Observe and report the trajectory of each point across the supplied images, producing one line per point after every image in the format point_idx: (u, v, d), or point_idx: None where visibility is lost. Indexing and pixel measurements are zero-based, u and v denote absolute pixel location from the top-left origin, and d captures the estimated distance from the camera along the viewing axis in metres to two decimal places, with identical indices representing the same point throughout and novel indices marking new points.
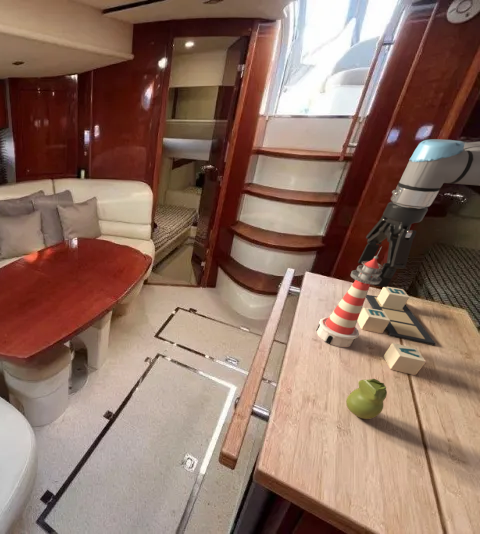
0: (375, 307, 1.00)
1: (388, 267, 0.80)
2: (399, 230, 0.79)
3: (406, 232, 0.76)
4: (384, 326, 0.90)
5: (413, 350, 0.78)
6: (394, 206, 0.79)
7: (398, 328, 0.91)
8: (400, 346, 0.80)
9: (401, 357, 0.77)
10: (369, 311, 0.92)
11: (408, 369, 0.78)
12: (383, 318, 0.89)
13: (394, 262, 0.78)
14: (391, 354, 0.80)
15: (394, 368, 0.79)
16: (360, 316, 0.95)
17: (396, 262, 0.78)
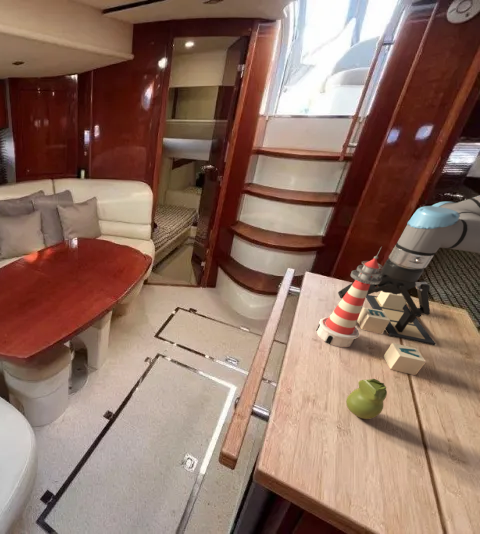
0: (375, 307, 1.00)
1: (414, 315, 0.87)
2: (414, 286, 0.83)
3: None
4: (384, 326, 0.90)
5: (413, 350, 0.78)
6: (418, 271, 0.80)
7: None
8: (400, 346, 0.80)
9: (401, 357, 0.77)
10: (369, 311, 0.92)
11: (408, 369, 0.78)
12: (383, 318, 0.89)
13: (429, 310, 0.84)
14: (391, 354, 0.80)
15: (394, 368, 0.79)
16: (360, 316, 0.95)
17: None
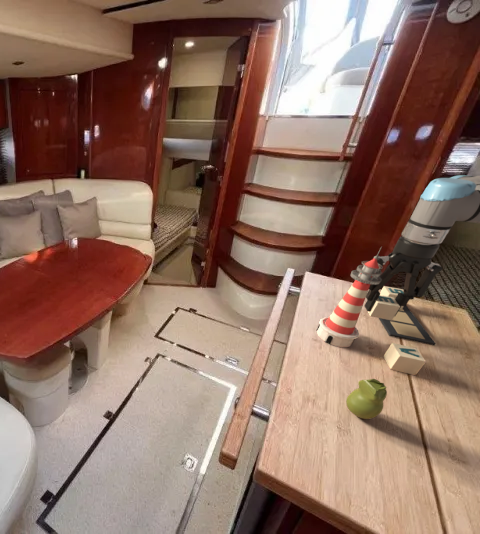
0: None
1: (405, 297, 0.86)
2: (430, 263, 0.80)
3: None
4: (394, 312, 0.87)
5: (413, 350, 0.78)
6: (433, 247, 0.76)
7: (398, 328, 0.91)
8: (400, 346, 0.80)
9: (401, 357, 0.77)
10: (378, 297, 0.90)
11: (408, 369, 0.78)
12: (393, 304, 0.87)
13: (423, 293, 0.83)
14: (391, 354, 0.80)
15: (394, 368, 0.79)
16: None
17: None
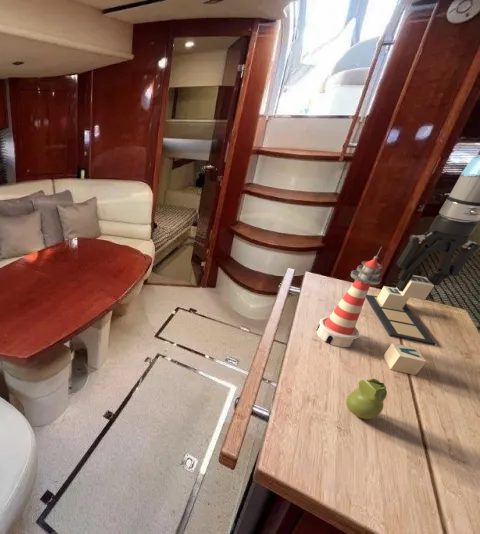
0: (375, 307, 1.00)
1: (439, 276, 0.86)
2: (467, 241, 0.80)
3: None
4: (427, 292, 0.87)
5: (413, 350, 0.78)
6: (473, 224, 0.76)
7: (398, 328, 0.91)
8: (400, 346, 0.80)
9: (401, 357, 0.77)
10: None
11: (408, 369, 0.78)
12: (426, 283, 0.87)
13: (458, 272, 0.84)
14: (391, 354, 0.80)
15: (394, 368, 0.79)
16: None
17: None
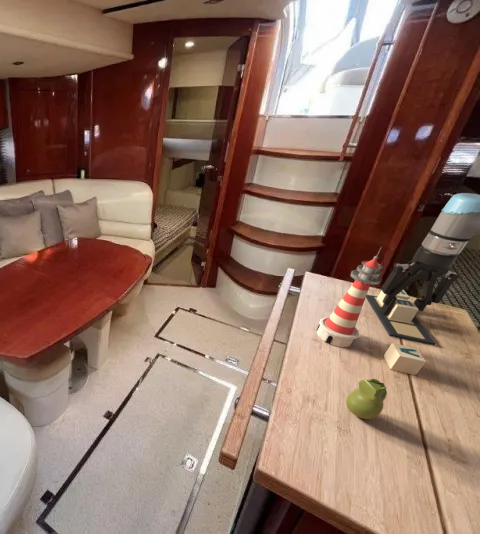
0: (375, 307, 1.00)
1: (423, 303, 0.91)
2: (447, 272, 0.85)
3: None
4: (412, 315, 0.92)
5: (413, 350, 0.78)
6: (452, 257, 0.82)
7: (398, 328, 0.91)
8: (400, 346, 0.80)
9: (401, 357, 0.77)
10: (397, 300, 0.95)
11: (408, 369, 0.78)
12: (411, 307, 0.92)
13: (440, 300, 0.89)
14: (391, 354, 0.80)
15: (394, 368, 0.79)
16: None
17: None
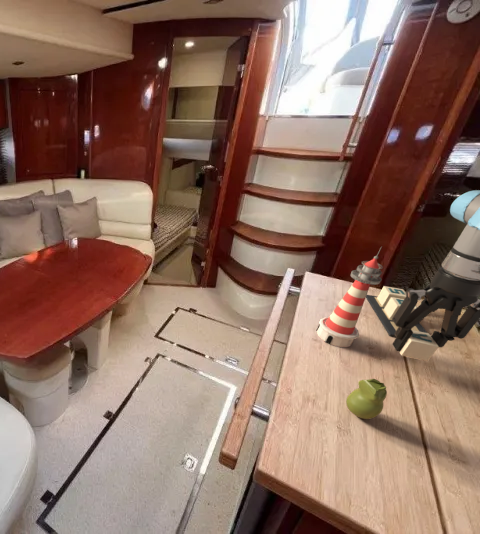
0: (375, 307, 1.00)
1: (443, 337, 0.73)
2: (476, 301, 0.67)
3: None
4: None
5: (425, 335, 0.75)
6: None
7: None
8: None
9: (413, 342, 0.74)
10: (397, 300, 0.95)
11: (420, 355, 0.75)
12: None
13: (465, 334, 0.70)
14: None
15: (405, 354, 0.76)
16: (388, 306, 0.97)
17: None
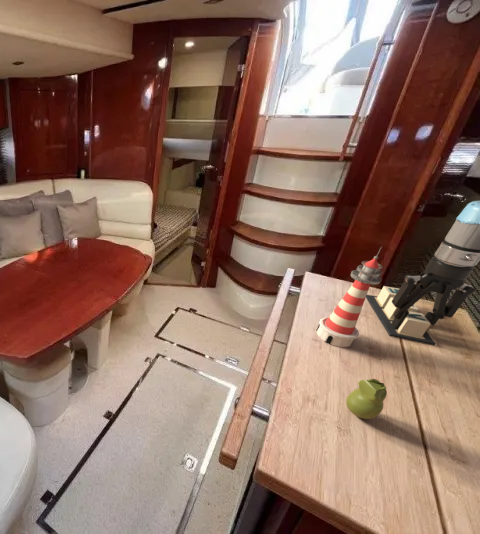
0: (375, 307, 1.00)
1: (434, 316, 0.86)
2: (463, 284, 0.80)
3: None
4: None
5: (419, 315, 0.88)
6: (468, 269, 0.76)
7: None
8: None
9: (409, 320, 0.87)
10: None
11: (415, 332, 0.88)
12: (411, 307, 0.92)
13: (453, 313, 0.83)
14: None
15: (402, 331, 0.89)
16: (388, 306, 0.97)
17: None
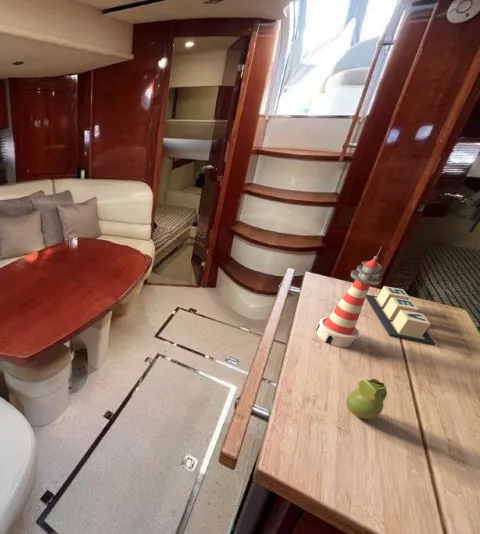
0: (375, 307, 1.00)
1: None
2: None
3: None
4: None
5: (419, 315, 0.88)
6: None
7: None
8: (407, 312, 0.90)
9: (409, 320, 0.87)
10: (397, 300, 0.95)
11: (415, 331, 0.88)
12: (411, 307, 0.92)
13: None
14: (399, 319, 0.91)
15: (402, 331, 0.89)
16: (388, 306, 0.97)
17: None
